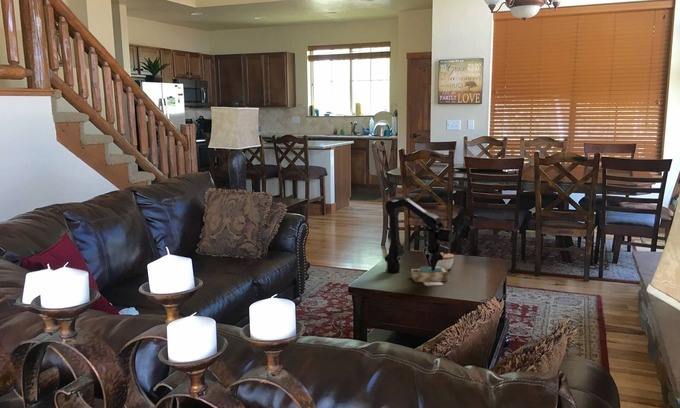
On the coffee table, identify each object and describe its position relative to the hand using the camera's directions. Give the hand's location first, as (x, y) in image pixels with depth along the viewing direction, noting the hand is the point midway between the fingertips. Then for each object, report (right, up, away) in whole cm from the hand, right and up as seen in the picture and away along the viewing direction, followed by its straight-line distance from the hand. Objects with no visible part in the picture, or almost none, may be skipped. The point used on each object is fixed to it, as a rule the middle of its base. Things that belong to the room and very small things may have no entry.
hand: (431, 269), depth 295 cm
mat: (-1, -7, -8) cm, 10 cm away
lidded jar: (+10, -2, +22) cm, 24 cm away
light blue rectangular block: (-1, -3, 0) cm, 3 cm away
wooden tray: (-1, -5, +1) cm, 5 cm away
